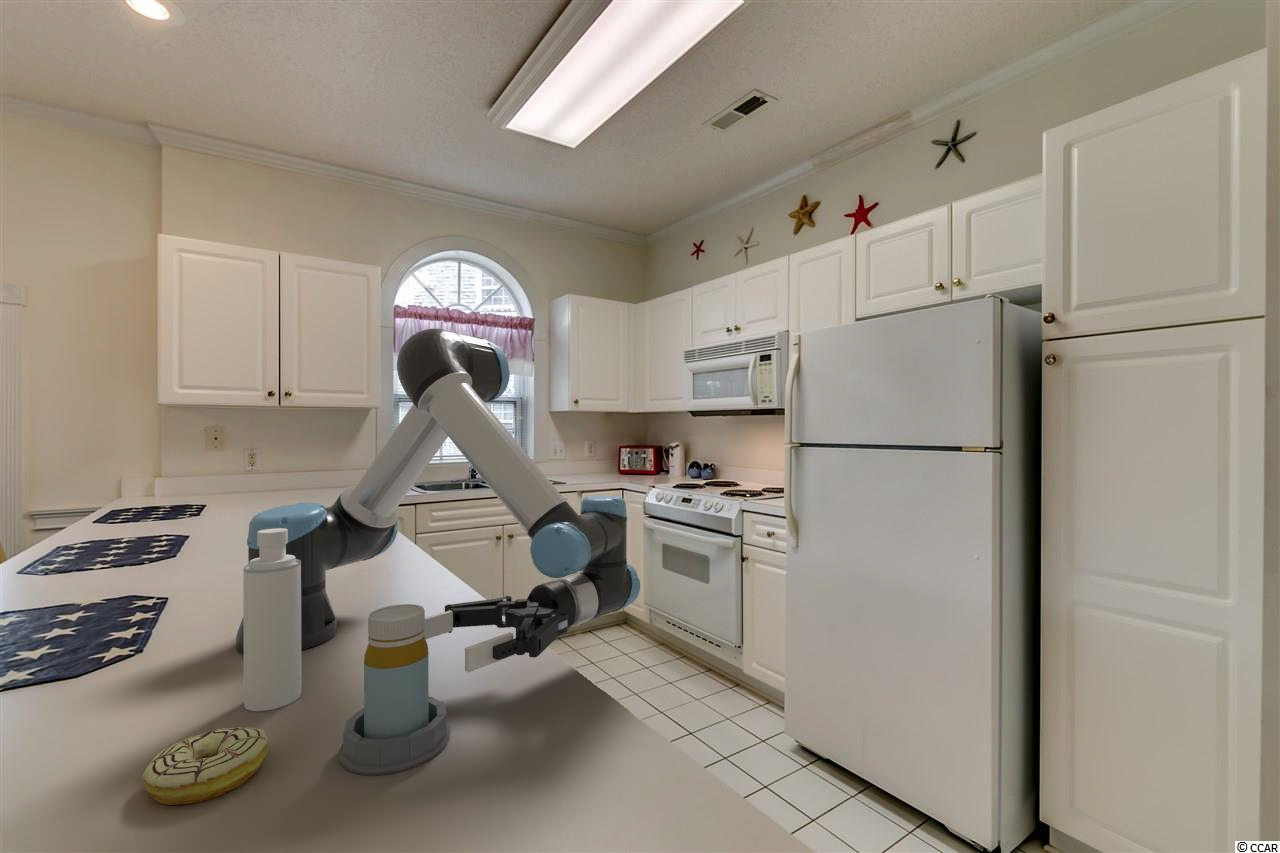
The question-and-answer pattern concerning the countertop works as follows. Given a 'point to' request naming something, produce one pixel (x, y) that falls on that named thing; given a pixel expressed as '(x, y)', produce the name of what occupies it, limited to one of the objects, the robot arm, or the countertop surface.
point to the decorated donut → (205, 765)
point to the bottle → (395, 672)
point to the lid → (393, 744)
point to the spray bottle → (272, 624)
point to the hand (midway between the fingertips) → (434, 646)
